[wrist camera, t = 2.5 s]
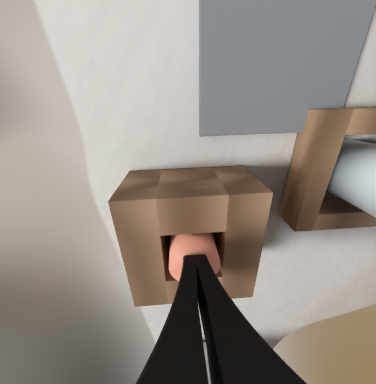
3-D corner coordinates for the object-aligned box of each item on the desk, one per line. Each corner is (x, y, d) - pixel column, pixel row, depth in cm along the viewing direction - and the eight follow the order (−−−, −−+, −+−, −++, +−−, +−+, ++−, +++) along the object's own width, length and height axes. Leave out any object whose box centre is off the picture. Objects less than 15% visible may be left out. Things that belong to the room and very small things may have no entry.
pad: (390, -73, 9) (404, -84, 9) (329, 129, 14) (335, 130, 13) (199, -77, 9) (200, -88, 8) (199, 135, 13) (200, 136, 13)
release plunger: (207, 203, 15) (221, 244, 10) (206, 233, 16) (219, 282, 12) (169, 205, 15) (166, 248, 10) (171, 235, 16) (170, 286, 12)
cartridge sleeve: (419, 105, 13) (469, 105, 11) (369, 209, 17) (398, 224, 15) (302, 109, 13) (330, 109, 11) (278, 214, 17) (294, 231, 14)
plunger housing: (242, 165, 14) (273, 192, 10) (233, 250, 18) (252, 296, 14) (129, 170, 14) (108, 201, 9) (145, 256, 18) (135, 306, 13)
